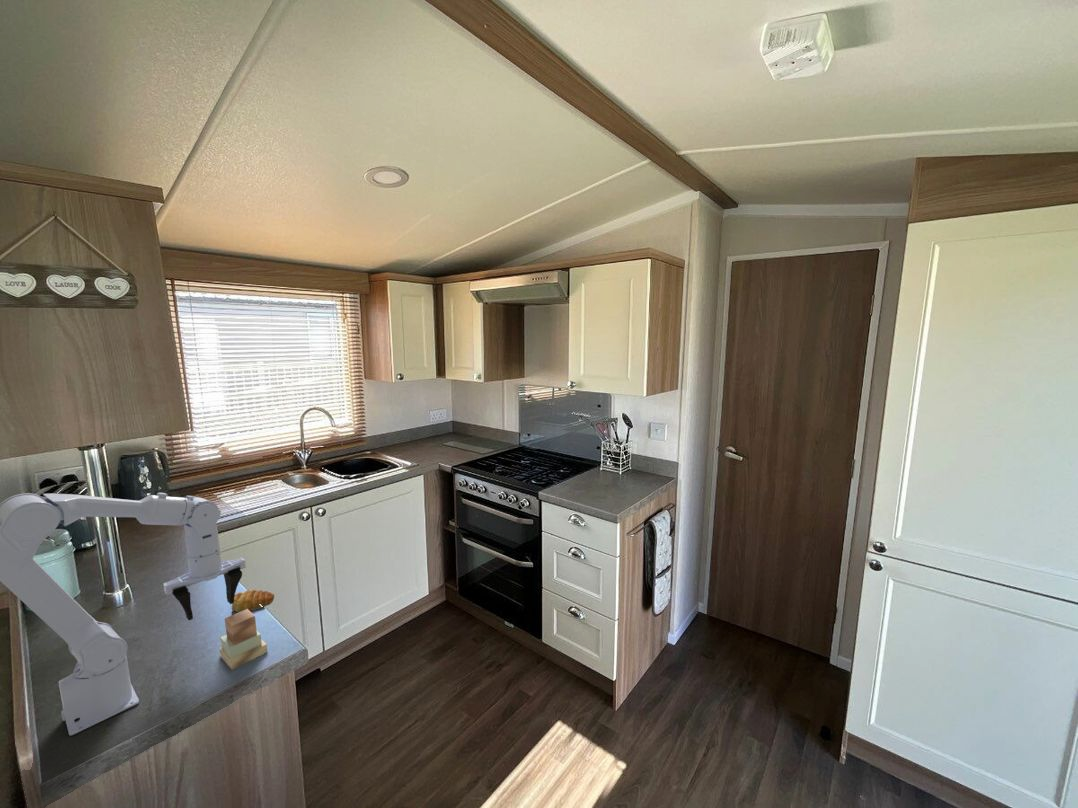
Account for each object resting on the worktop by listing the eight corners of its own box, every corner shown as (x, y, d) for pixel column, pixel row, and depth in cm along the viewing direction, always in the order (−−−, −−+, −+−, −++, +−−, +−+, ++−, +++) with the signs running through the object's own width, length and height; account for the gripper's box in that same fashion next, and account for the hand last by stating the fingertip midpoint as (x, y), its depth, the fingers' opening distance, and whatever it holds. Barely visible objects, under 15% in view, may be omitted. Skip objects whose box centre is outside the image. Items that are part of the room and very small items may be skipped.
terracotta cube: (233, 645, 97) (231, 626, 96) (226, 637, 100) (224, 618, 99) (257, 634, 100) (254, 615, 100) (249, 626, 103) (247, 608, 103)
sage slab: (230, 659, 96) (229, 648, 96) (221, 647, 100) (220, 637, 100) (261, 644, 101) (260, 634, 100) (251, 633, 105) (250, 624, 104)
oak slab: (231, 672, 96) (230, 661, 95) (220, 658, 100) (219, 648, 100) (267, 654, 101) (266, 644, 101) (255, 642, 106) (254, 632, 105)
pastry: (277, 595, 125) (276, 583, 124) (270, 609, 118) (268, 596, 118) (239, 601, 122) (237, 588, 122) (229, 615, 116) (227, 602, 115)
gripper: (166, 570, 90) (174, 633, 92) (247, 545, 101) (253, 601, 103) (158, 560, 95) (166, 620, 96) (236, 537, 106) (242, 591, 107)
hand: (210, 609), depth 100 cm, fingers open, 7 cm apart
